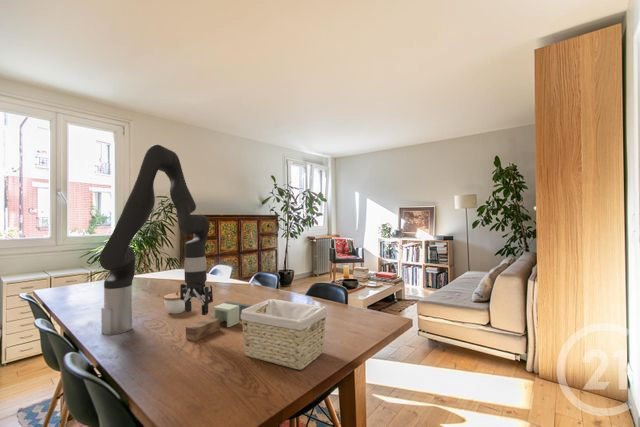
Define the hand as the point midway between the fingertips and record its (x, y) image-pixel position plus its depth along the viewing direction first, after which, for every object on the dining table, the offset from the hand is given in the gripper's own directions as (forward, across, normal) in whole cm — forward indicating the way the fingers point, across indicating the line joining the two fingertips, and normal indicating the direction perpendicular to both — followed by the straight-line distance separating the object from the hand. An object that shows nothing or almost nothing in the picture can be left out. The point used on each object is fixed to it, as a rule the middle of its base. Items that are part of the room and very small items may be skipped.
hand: (196, 313), depth 111 cm
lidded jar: (+9, -33, +17) cm, 38 cm away
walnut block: (+9, 0, +3) cm, 9 cm away
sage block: (+9, 0, +15) cm, 17 cm away
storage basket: (+10, +37, +2) cm, 38 cm away
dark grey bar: (+9, 0, +24) cm, 26 cm away
